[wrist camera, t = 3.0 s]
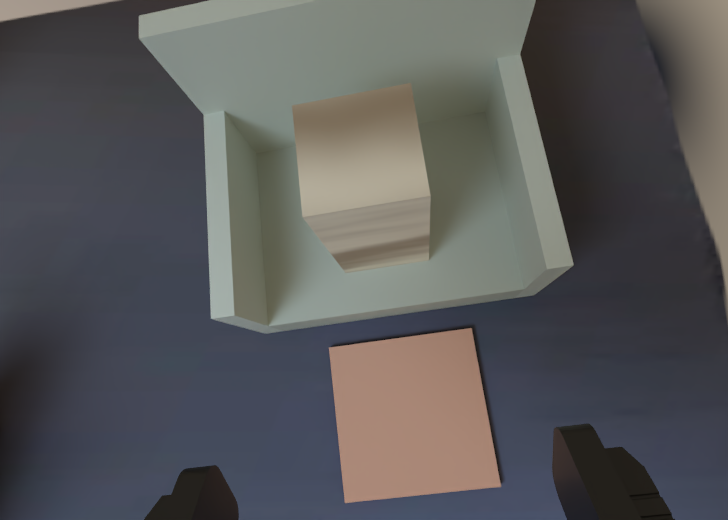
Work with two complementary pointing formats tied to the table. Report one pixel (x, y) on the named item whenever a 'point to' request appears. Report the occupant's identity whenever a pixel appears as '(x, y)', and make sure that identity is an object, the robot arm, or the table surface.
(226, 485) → the robot arm
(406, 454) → the mat
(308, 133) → the birch block
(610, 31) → the table surface
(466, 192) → the cubby
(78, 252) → the table surface
